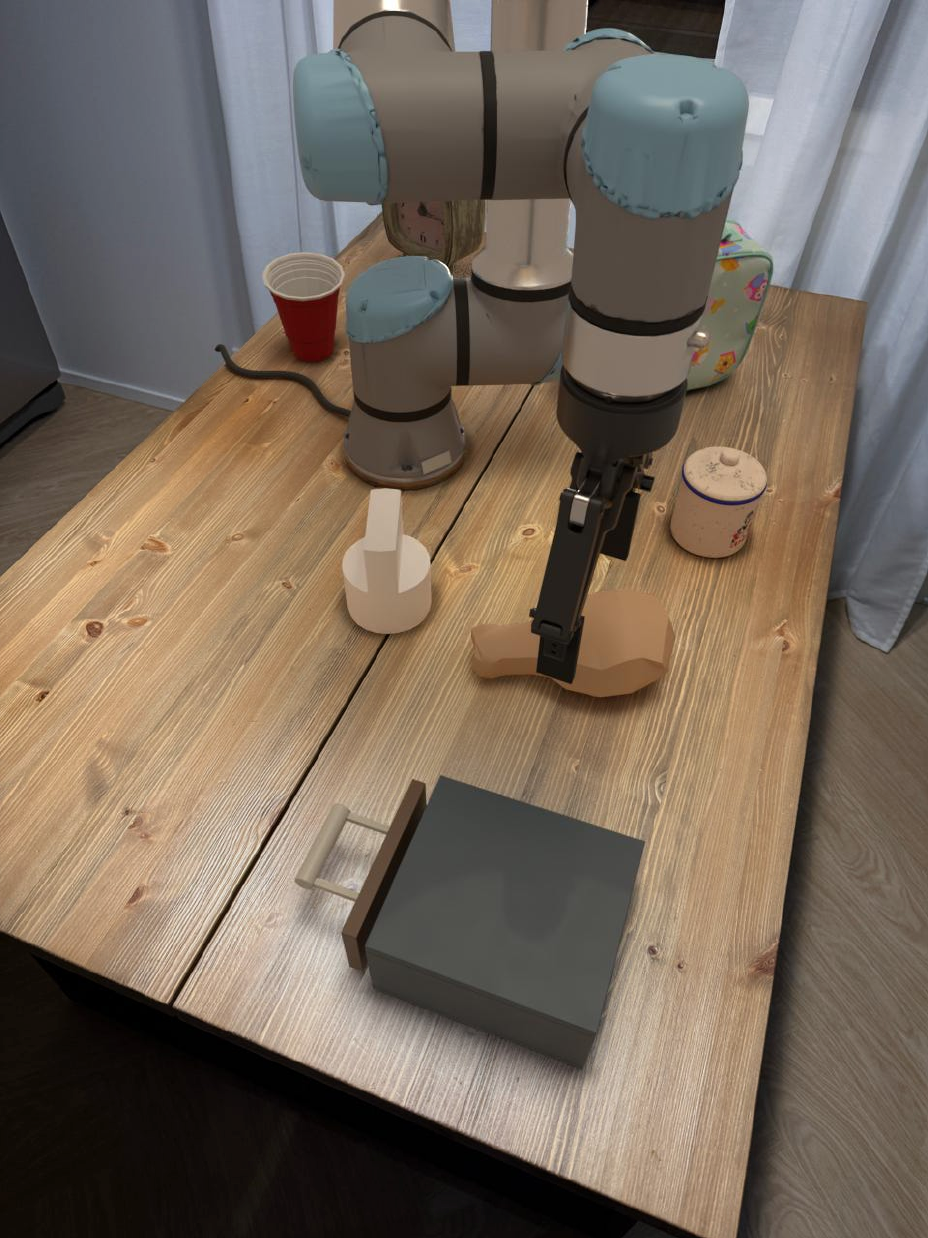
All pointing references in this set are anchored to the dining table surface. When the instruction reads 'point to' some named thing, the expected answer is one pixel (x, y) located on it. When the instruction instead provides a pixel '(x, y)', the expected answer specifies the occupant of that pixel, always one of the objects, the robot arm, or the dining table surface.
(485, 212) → the tabletop clock
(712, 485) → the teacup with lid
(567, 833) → the cabinet
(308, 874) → the drawer
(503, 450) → the dining table surface
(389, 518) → the cylinder with rectangular tab
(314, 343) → the plastic cup
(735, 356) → the lunch box
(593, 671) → the squash
